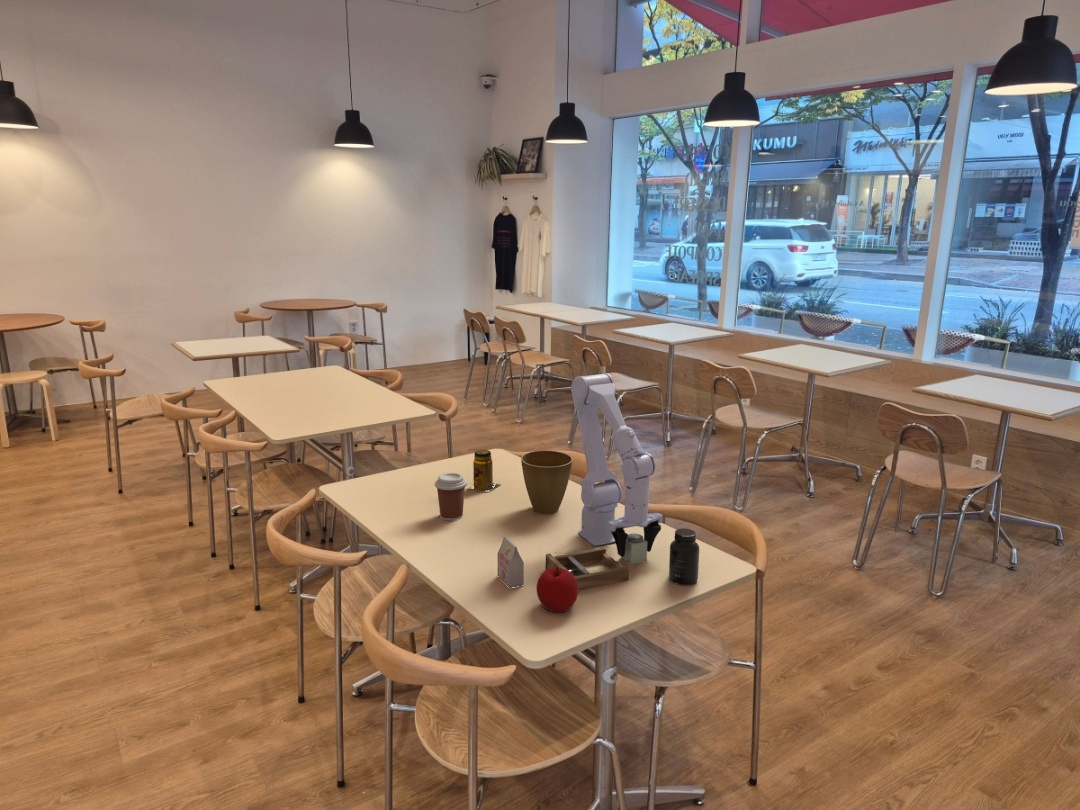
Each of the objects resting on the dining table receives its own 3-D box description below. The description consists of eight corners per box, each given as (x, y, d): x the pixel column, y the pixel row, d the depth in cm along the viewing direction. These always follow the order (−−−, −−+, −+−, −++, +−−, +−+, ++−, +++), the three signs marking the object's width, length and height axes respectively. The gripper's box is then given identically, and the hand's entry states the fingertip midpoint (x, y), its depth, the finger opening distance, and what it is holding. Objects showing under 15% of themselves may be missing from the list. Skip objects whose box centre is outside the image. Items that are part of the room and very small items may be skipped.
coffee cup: (451, 525, 203) (451, 484, 200) (428, 517, 208) (427, 477, 205) (474, 515, 210) (473, 475, 207) (451, 507, 215) (450, 469, 213)
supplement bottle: (677, 569, 178) (680, 523, 175) (702, 578, 174) (706, 531, 171) (662, 579, 173) (665, 532, 170) (688, 588, 169) (691, 540, 166)
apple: (586, 606, 161) (587, 564, 158) (559, 622, 154) (560, 579, 152) (554, 592, 166) (555, 552, 164) (527, 607, 160) (527, 565, 158)
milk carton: (511, 573, 175) (511, 535, 173) (523, 585, 169) (523, 546, 167) (497, 576, 174) (497, 537, 171) (509, 589, 168) (509, 549, 165)
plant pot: (510, 508, 215) (510, 456, 211) (547, 496, 225) (548, 447, 221) (544, 524, 204) (544, 469, 201) (582, 510, 214) (583, 458, 210)
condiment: (468, 489, 231) (467, 452, 228) (482, 481, 238) (482, 445, 235) (487, 493, 228) (487, 456, 225) (501, 485, 235) (501, 449, 232)
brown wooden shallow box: (545, 569, 177) (545, 554, 176) (603, 558, 184) (603, 543, 183) (567, 592, 166) (568, 576, 165) (628, 579, 173) (629, 564, 172)
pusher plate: (553, 571, 177) (553, 559, 176) (571, 567, 179) (571, 556, 178) (570, 588, 168) (570, 576, 168) (589, 584, 170) (589, 572, 170)
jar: (621, 556, 185) (622, 534, 183) (637, 553, 187) (638, 532, 185) (630, 564, 181) (631, 541, 179) (646, 561, 183) (647, 538, 181)
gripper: (619, 511, 174) (617, 564, 177) (670, 503, 179) (667, 554, 183) (604, 501, 180) (603, 552, 183) (654, 493, 186) (652, 543, 189)
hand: (634, 552), depth 183 cm, fingers open, 7 cm apart
